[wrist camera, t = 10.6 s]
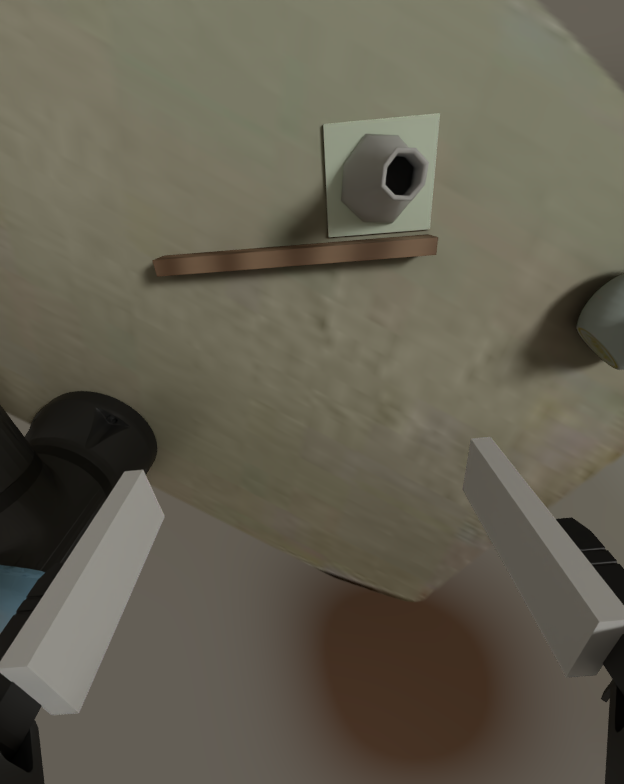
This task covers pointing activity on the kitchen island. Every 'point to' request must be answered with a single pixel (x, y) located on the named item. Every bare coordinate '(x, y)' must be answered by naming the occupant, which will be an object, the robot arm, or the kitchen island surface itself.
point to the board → (344, 141)
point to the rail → (296, 255)
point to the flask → (382, 177)
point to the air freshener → (605, 323)
